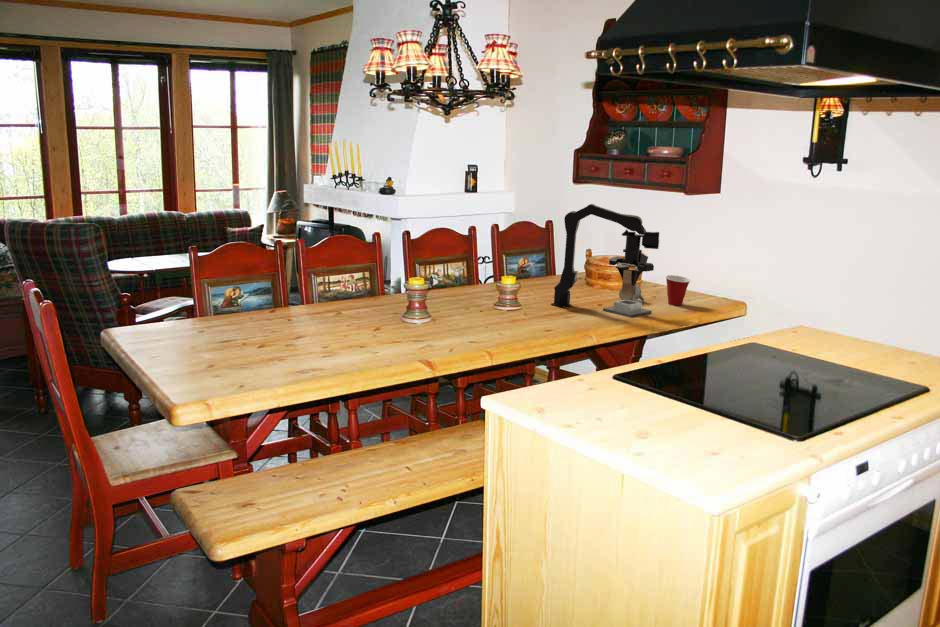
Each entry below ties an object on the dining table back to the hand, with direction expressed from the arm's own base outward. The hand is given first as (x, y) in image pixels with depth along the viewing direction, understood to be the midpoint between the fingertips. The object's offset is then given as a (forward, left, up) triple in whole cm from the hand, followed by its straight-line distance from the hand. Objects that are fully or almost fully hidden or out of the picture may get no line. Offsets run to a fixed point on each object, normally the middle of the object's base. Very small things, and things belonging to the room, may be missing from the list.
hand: (629, 284), depth 316 cm
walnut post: (0, 0, -4) cm, 4 cm away
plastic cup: (+30, -3, -12) cm, 32 cm away
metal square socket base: (0, 0, -11) cm, 11 cm away
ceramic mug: (+18, +11, -12) cm, 25 cm away
